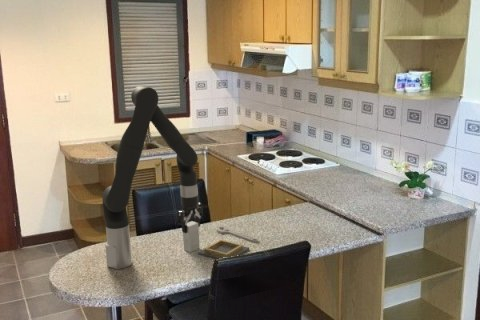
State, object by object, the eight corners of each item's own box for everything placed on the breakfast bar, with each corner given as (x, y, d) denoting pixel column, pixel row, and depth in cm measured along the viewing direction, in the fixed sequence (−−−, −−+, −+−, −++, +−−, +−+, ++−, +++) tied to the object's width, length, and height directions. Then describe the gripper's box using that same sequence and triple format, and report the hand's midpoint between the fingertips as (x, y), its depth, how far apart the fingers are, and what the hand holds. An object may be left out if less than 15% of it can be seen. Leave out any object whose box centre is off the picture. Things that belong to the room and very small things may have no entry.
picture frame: (227, 262, 215) (227, 257, 215) (197, 254, 224) (197, 249, 223) (249, 249, 228) (249, 244, 227) (220, 242, 237) (219, 237, 236)
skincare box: (193, 246, 233) (191, 220, 231) (199, 248, 231) (198, 222, 228) (183, 250, 229) (182, 224, 226) (190, 252, 226) (189, 226, 223)
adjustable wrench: (259, 242, 237) (259, 239, 237) (249, 246, 233) (249, 243, 232) (223, 228, 255) (223, 225, 255) (213, 232, 251) (213, 228, 250)
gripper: (185, 200, 216) (187, 236, 220) (206, 191, 227) (208, 226, 231) (171, 197, 220) (174, 233, 224) (193, 188, 232) (195, 223, 235)
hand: (191, 229), depth 228 cm, fingers open, 8 cm apart
